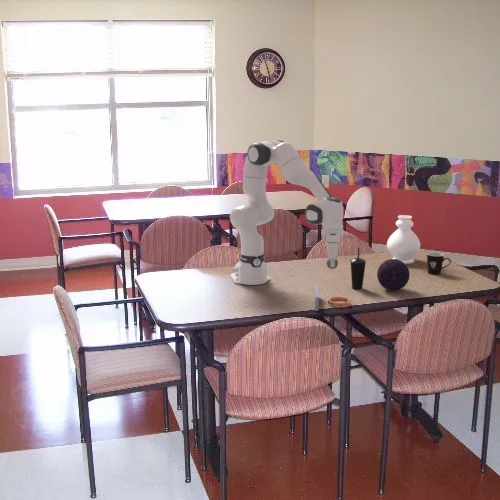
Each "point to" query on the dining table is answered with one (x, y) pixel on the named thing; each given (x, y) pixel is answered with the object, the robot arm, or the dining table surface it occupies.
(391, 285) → the toy ball
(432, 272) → the coffee mug
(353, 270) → the drinking cup
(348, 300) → the dish
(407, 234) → the decorative vase
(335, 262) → the ball
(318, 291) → the wall
